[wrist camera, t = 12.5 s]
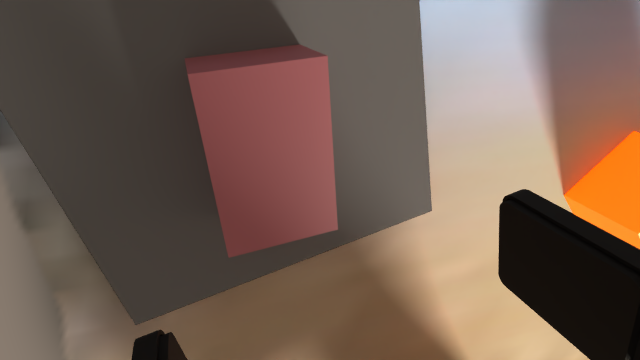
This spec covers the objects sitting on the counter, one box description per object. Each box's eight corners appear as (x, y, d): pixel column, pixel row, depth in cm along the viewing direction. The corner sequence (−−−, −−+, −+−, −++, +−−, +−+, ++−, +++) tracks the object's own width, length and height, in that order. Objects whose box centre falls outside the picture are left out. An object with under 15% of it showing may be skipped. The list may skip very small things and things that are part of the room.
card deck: (299, 44, 19) (327, 55, 16) (313, 194, 23) (337, 229, 20) (184, 58, 18) (187, 74, 14) (219, 215, 22) (228, 257, 18)
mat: (427, 206, 27) (431, 210, 27) (136, 317, 23) (135, 325, 23) (406, -103, 18) (412, -106, 18) (-67, -10, 14) (-75, -10, 14)
